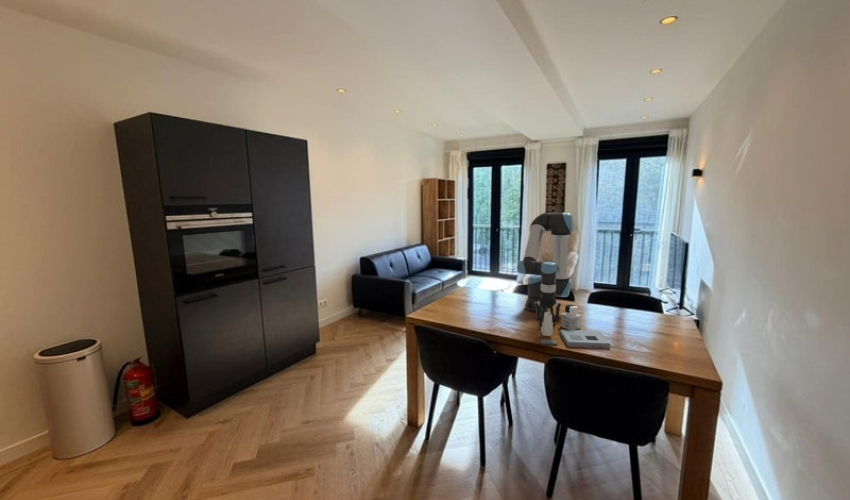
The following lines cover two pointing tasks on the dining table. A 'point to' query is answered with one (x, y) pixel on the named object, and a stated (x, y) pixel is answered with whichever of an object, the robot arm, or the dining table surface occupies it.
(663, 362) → the dining table surface
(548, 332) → the light grey rectangular block
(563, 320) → the container
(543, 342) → the phone
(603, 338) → the outlet plate
